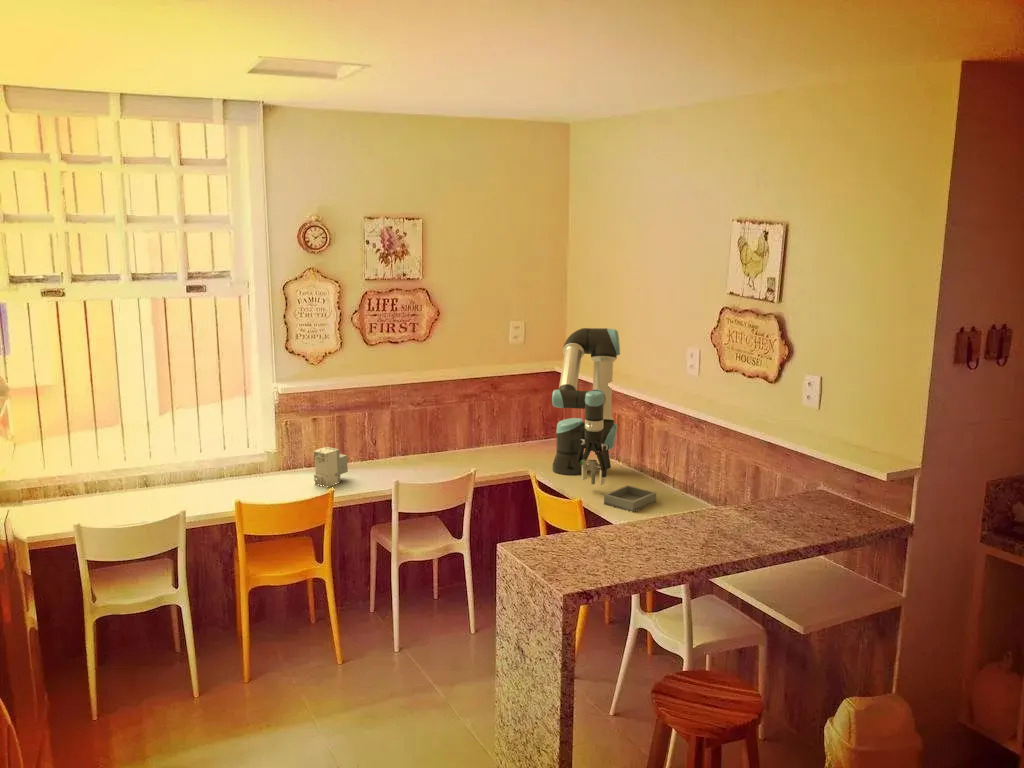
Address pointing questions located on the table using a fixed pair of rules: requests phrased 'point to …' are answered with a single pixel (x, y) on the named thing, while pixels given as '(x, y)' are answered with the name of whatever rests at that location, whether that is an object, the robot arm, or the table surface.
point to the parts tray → (630, 498)
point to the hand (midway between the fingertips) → (593, 481)
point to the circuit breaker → (329, 466)
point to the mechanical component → (591, 468)
